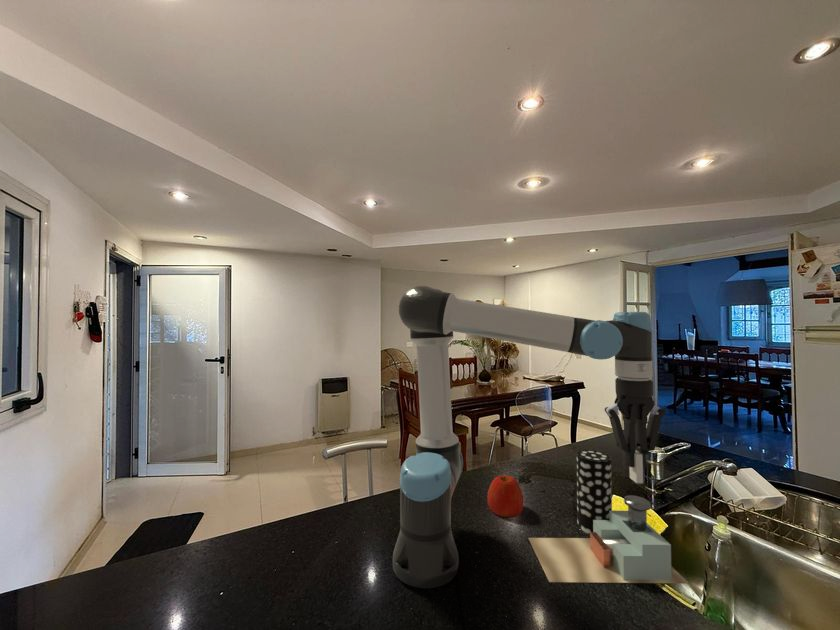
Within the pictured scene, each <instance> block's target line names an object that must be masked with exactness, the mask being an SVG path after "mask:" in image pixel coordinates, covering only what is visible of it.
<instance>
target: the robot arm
mask: <svg viewBox="0 0 840 630" xmlns="http://www.w3.org/2000/svg"><path fill="white" fill-rule="evenodd" d="M398 315H399V317H400V320H401V322H402V323H403V324H404V326H406V327H407V328H408V329H409V330H410V331H409V332H410V333H409V335H410V341H412V343H414V344H415V346H416V359H417V360H416V361H417V364H416V365H417V382H418V383H417V384H418V401H419V402H418V403H419V405H418V406H419V421H420V434H419V435H418V436H417V438H415V453H416V454H415V455H410V456H408V458H407V457H406V459H405V460H404V461H403V462H402V465H401V467H400V475H399V481H398V482H399V504H400V505H399V511H400V512H399V515H400V516H399V517H400V521H399V522H400V523H399V524H400V525H399V527H400V530H399V532H398V533H399V534H398V536H397V539H396V543H395V546H394V549H393V553H392V570H393V572H394V575H395V576H396V578H398V579H399V581H401V582H403V583H404V584H406V585H407V586H409V587H413V588H417V589H435V588H436V589H437V588H440V587H442V586H445V585H447V584H449V582H451V581H452V580H453V579H454V578H455V577H456V575H457V573H458V571H459V570H458V568H459V563H460V562H459V559H460V558H459V551H458V549H457V545H456V543H455V538H454V536H453V533H452V528H451V525H452V524H451V523H452V522H451V521H452V518H451V517H452V516H451V515H452V512H451V511H452V506H451V505H452V496H453V494H454V491H455V489H456V487H457V484H458V481H459V479H460V478H461V475H462V471H463V467H464V459H463V454H462V451H461V449H460V441H459V437H458V435H456V434H455V433H454V432H453V416H452V415H453V413H452V394H451V377H450V375H451V374H450V358H449V357H450V354H449V343H450V342H451V341H452V340H453V339H454V332H455V333H460V334H467V335H472V336H475V337H476V336H478V337H482V338H488V339H494V340H499V341H505V342H508V343H509V342H511V343H514V344H515V343H516V344H519V345H520V344H521V345H526V346H531V347H538V348H543V349H548V350H552V351H553V350H554V351H559V352H564V353H570V354H575V355H580V356H586V357H589V358H591V359H594V360H599V361H600V360H608V359H611V358H614V375H615V376H616V378H615V380H614V381H615V395H616V397H615V400H614V404H613V405H611V406H610V407H609V406H605V408H604V412H605V413H606V415H607V416H608V417H609V423H610V426H611V429H612V432H613V436H614V440H615V444H616V447H617V448H619V449H620V450H622V451H624V452H625V463H626V466H628V467H629V479H631V481H633V482H634V483H635V484H644V468H646V466H647V456H648V455H649V454H650V451H652V452H653V451H655V450H656V447H657V446H656V445H657V440H658V436H659V431H660V426H661V421H662V419H663V417H664V415H665V414H666V410H665V409H664V408H661V407H659V406H657V405H656V404H655V400H654V399H653V396H654V381H653V380H652V378H653V377H654V376H653V374H654V371H653V328H652V327H653V326H652V319H651V318H652V317H651V315H650V314H649V313H648V312H646V311H622V312H621V311H620V312H618V311H617V312H615V313H614V314H613V317H612V320H601V319H600V320H599V319H598V320H594V319H587V318H581V317H574V316H568V315H563V314H557V313H550V312H544V311H537V310H531V309H525V308H519V307H512V306H506V305H500V304H493V303H487V302H481V301H474V300H469V299H462V298H457V296H456V295H455V293H451V292H446V291H443V290H440V289H437V288H433V287H430V286H429V285H428V286H427V285H418V286H417V285H416V286H414V287H410V288H409V289H408V290H407V291H405V293H403V295H402V296H401V298H400V300H399V304H398ZM620 414H621V415H622V416H621V417H622V421H623V424H622V423H621V420H620V417H619V415H620ZM648 416H649V417H648ZM622 425H623V426H622Z"/></svg>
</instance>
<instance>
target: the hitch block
mask: <svg viewBox="0 0 840 630" xmlns="http://www.w3.org/2000/svg"><path fill="white" fill-rule="evenodd" d="M593 532H596V533H597V534H598V535H599V536H600V538H601V539H627V540H628V541H629V542H630V543H631V544H613V555H614V568H615V569H616V570H617V572H618V573H619V574H620V576H621V577H622V578H623V579H624V580H671V566H672V544H671V543H670V542H669V541H668V540H666V538H664V537H663V536H662V535H661V534H660V533H658V532H657V531H656V530H655V528H653V527H652V526H651V525H650V524H648V523H647V530H645V531H639V530H635V529H633V528H631V527H630V526H629V524H628V510H614V509H612V510H609V520H593Z"/></svg>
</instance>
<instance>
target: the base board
mask: <svg viewBox="0 0 840 630" xmlns="http://www.w3.org/2000/svg"><path fill="white" fill-rule="evenodd" d="M528 541H529V542H530V544H531V547H532V549H533V551H534V553H535V555H536V557H537V559H538V562H539V563H540V566H541V567H542V570H543V571H544V574H545V576H546V578H547V581H548V583H585V584H586V583H590V584H591V583H592V584H593V583H596V584H597V583H598V584H599V583H603V584H604V583H606V584H608V583H610V584H612V583H613V584H617V583H618V584H625V583H626V584H689V582H688V581H687V580H686V579H685V578H684V577H683V576H682V575H681V574H680V573H679V572H678V571H677V570H676V569H675V568H674V567H673V566H672V565H671V580H624V579H623V578H622V577H621V576H620V574H619V573H618V572H617V570H616V569H615V568H614V560H610V568H604V567H603V566H602V564H601V563H600V561H599V560H598V559H597V557H596V556H595V555H594V553H593V552H592V550H591V549H590V537H588V538H587V537H581V538H580V537H528Z"/></svg>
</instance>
